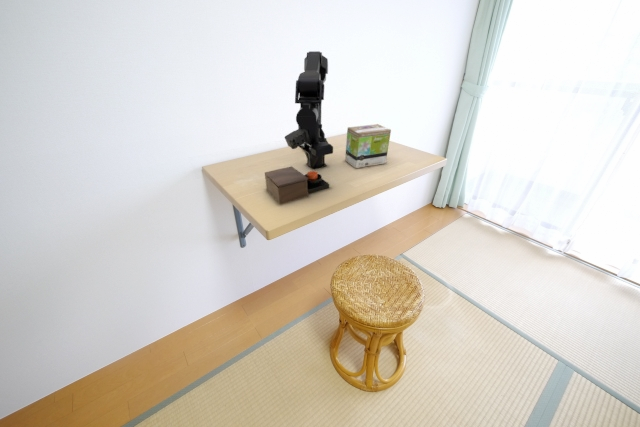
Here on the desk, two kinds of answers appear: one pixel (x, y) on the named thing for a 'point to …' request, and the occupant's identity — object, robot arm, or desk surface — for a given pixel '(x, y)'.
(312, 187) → the control block
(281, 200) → the open wooden box
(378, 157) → the tea box
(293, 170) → the wooden box lid
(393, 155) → the desk surface
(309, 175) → the button
